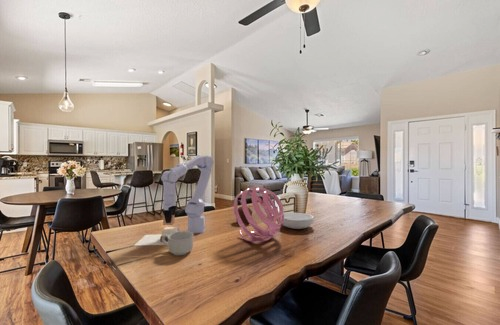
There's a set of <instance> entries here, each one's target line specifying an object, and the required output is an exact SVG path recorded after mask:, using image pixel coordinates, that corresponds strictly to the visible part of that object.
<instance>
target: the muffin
mask: <svg viewBox="0 0 500 325" xmlns="http://www.w3.org/2000/svg"><path fill="white" fill-rule="evenodd" d="M237 208H238V212H239V215H240V218H241V220H242V222H243V223H244V225H248V224H250V223H249V222H248V220H247V218H246V217H245V214H244V212H243V209H242V206H240V207H237ZM247 208H248V210H249V213H250V215H251V216H252V215H253V210H252V209H251V208H250V207H248V206H247ZM235 220H236V223H237V224H238V225H239V223H238V221H237V219H236V218H235Z"/></svg>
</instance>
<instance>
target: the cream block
mask: <svg viewBox="0 0 500 325" xmlns="http://www.w3.org/2000/svg"><path fill="white" fill-rule="evenodd" d="M179 231H180V227H179V226H171V227H169V226H168V227H164V228H163V229H162V231H161V234H162V236H164V235H170V234H172V233H174V232H179Z"/></svg>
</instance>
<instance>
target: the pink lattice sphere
mask: <svg viewBox="0 0 500 325" xmlns="http://www.w3.org/2000/svg"><path fill="white" fill-rule="evenodd" d="M250 190H252V191H250ZM258 193H259V194H261V195H262V196H261V197H262V198H261V197H260V196H259V195H258ZM240 195H241V198H240V203H241V207H242V209H243V212H244V214H245V217H246V218H247V220H248V222H249V224H250V226H251V227H252V228H253V229H254V230H255V231H252V230H249V229H248V228H247V226H246V224H244V223H243V222H242V220H241V218H240V215H239V212H238V208H239V207H238V199H239V197H240ZM247 195H248V196H249V197H251V199H250V200H251V203H252V206H253V209H254V211H255V213H256V215H257V216H258V218H259V219H260V220H261V221H262V222H263V223H264V224H265V225H266V226H267V228H266V229H265V230H264V229H263V228H262V227H261V226H260V225H259V224H257V222H256V221H255V220H254V218H253V217H252V216H251V215H250V213H249V210H248V208H249V207H248V205H247ZM270 196H271V197H272V198H273V199H274V201H275V202H276V204H277V206H276V204H275V202H274V201H273V199H272V198H271V197H270ZM259 204H260V205H261V207H262V208H263V210H264V211H265V213H266V215H265V214H264V212H263V211H262V209H261V207H260V205H259ZM247 207H248V208H247ZM278 207H279V210H280V211H279V210H278ZM233 213H234V215H235V220H236V219H237V220H236V222H237V221H238V223H239V224H238V223H237V224H238V225H239V227H240V228H241V230H242V231H243V232H244V233H245V234H246V235H247V237H249V238H246V237H245V236H244V234H243V233H242V231H241V230H240V229H239V230H238V233H239V235H240V237H241V238H242V239H243V240H244V241H247V242H248V243H249V242H250V243H256V242H257V243H258V242H259V243H265V242H267V241H269V240H271V239H272V238H273V237H275V236H276V235H278V233H279V232H280V230H281V228H282V226H283V221H284V213H285V210H284V205H283V203H282V201H281V200H280V198H279V196H278V195H277V194H276V193H274V192H273V191H271V190H269V189H267V188H265V187H263V186H262V187H261V186H257V187H253V186H252V187H248V188H246V189H245V190H243V191H241V192H239V193H238V194H237V195H236V196H235V198H234V200H233ZM281 217H282V221H281V219H280V218H281ZM276 221H277V223H276Z"/></svg>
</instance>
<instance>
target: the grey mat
mask: <svg viewBox="0 0 500 325" xmlns="http://www.w3.org/2000/svg"><path fill="white" fill-rule="evenodd" d="M161 236H162V233H160V234H145V235H144V236H142V238H140V240H138V241H137V242H136V243H135V244H134V245H133V247H135V246H136V247H137V246H166V245H165V244H164V243H163V242H160V237H161ZM167 243H168V242H167Z"/></svg>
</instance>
